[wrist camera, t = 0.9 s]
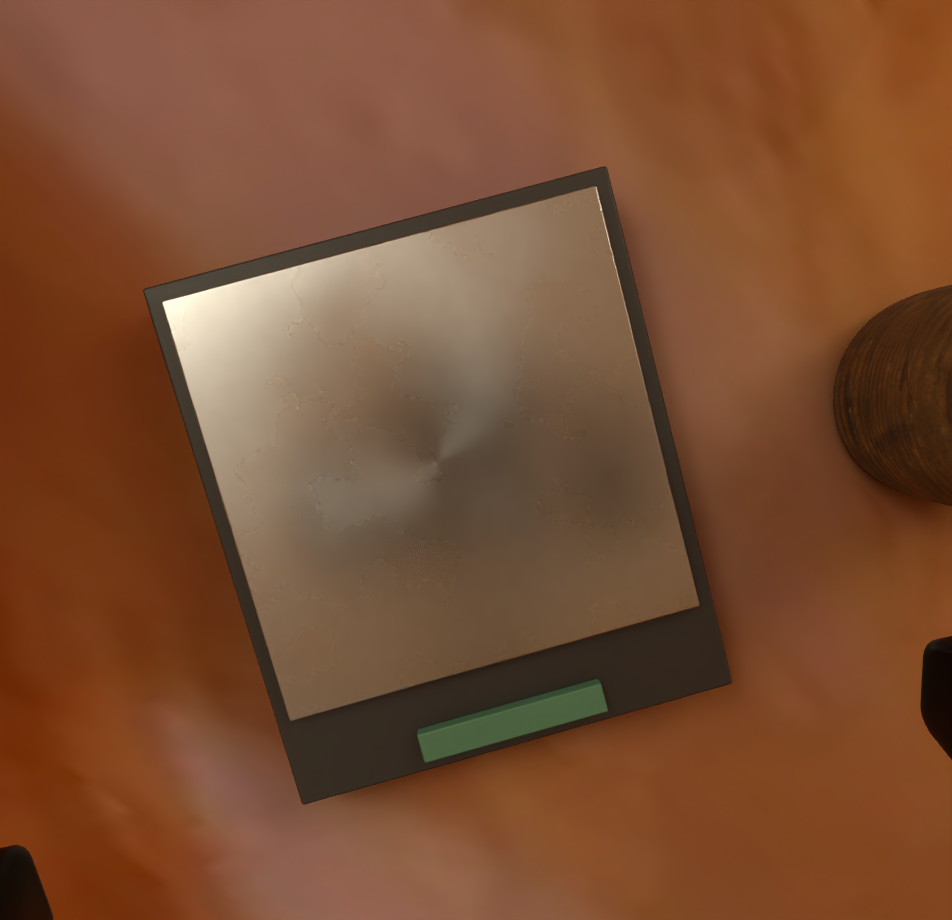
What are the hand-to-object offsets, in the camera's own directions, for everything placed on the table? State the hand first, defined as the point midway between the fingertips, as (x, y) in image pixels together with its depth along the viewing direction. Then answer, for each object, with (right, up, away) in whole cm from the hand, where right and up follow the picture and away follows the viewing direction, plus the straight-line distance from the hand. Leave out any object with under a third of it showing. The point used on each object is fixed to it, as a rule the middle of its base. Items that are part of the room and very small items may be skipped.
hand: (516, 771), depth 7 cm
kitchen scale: (-1, +2, +14) cm, 14 cm away
